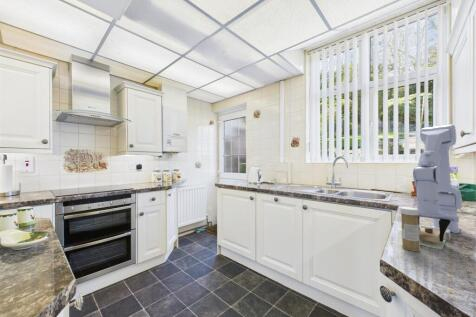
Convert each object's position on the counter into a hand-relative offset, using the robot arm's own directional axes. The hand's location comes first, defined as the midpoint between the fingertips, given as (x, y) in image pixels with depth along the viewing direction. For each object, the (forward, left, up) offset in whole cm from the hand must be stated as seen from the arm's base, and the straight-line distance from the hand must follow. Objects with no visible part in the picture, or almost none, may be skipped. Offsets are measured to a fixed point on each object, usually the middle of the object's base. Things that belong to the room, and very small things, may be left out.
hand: (429, 238), depth 70 cm
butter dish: (-9, 0, -1) cm, 9 cm away
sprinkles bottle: (+12, -3, -2) cm, 12 cm away
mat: (0, 0, -1) cm, 1 cm away
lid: (0, 0, 0) cm, 0 cm away
